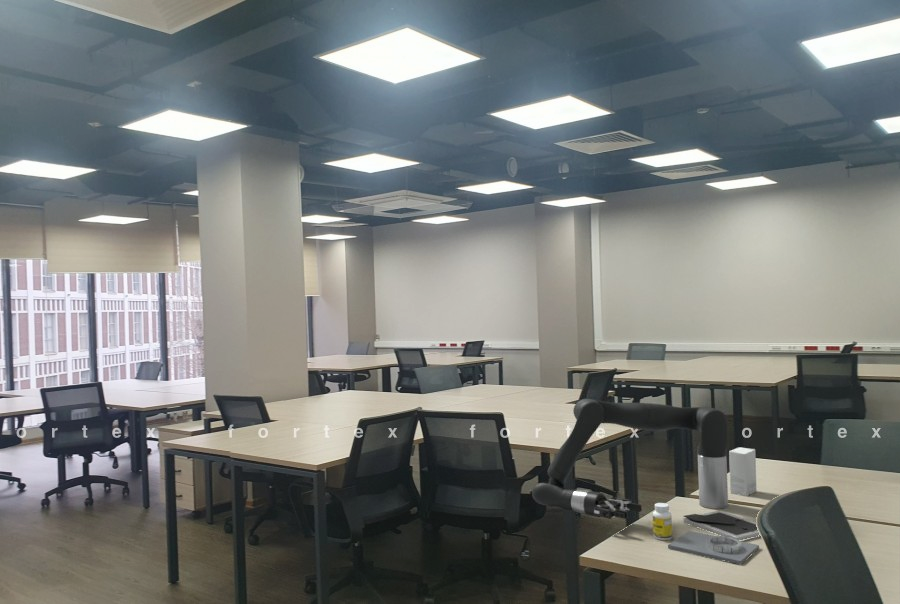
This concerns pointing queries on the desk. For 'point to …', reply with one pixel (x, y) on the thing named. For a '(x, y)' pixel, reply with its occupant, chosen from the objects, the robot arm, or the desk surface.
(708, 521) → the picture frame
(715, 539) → the steel ring collar
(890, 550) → the desk surface
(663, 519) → the supplement bottle
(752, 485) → the skincare box
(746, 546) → the grey flat rectangular slab
